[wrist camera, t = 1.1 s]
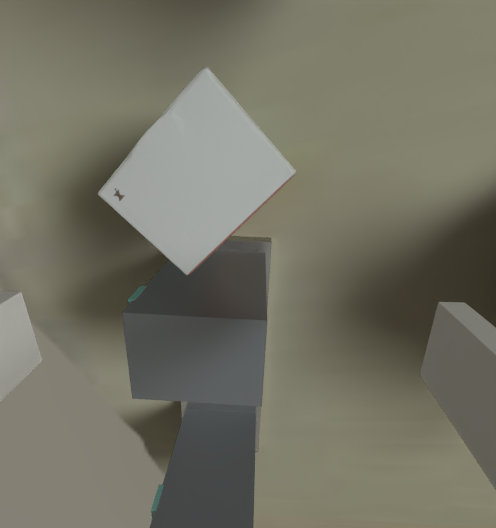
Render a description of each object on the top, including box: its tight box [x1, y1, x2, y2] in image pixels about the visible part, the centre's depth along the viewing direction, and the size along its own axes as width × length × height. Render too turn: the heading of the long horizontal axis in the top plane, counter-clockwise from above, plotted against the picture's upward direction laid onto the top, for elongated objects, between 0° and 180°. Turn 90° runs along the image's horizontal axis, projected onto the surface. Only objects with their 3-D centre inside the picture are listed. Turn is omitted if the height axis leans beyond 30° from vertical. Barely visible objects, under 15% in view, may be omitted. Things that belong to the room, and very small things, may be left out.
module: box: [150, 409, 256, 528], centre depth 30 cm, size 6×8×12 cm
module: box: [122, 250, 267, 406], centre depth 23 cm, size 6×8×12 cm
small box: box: [98, 67, 296, 275], centre depth 21 cm, size 8×6×13 cm
